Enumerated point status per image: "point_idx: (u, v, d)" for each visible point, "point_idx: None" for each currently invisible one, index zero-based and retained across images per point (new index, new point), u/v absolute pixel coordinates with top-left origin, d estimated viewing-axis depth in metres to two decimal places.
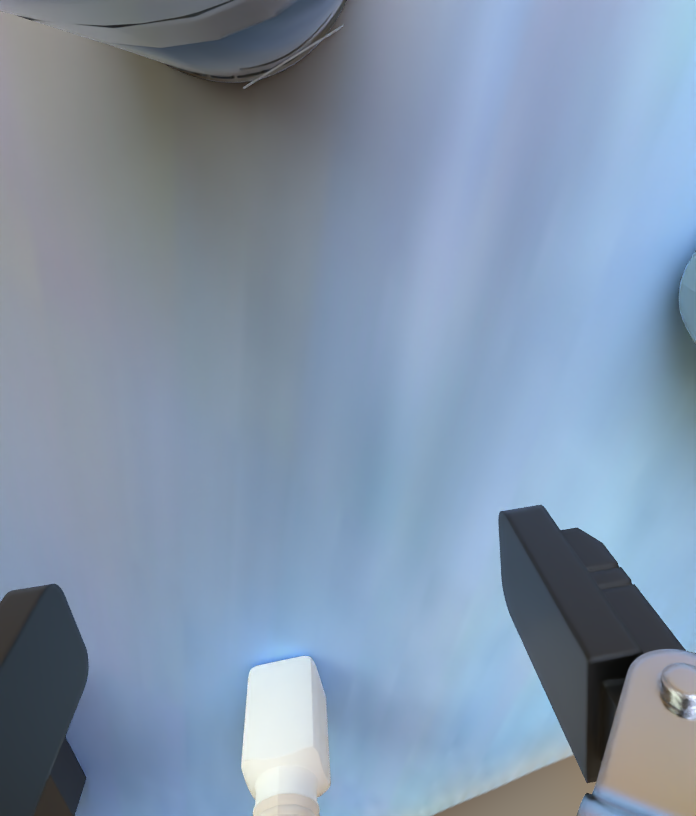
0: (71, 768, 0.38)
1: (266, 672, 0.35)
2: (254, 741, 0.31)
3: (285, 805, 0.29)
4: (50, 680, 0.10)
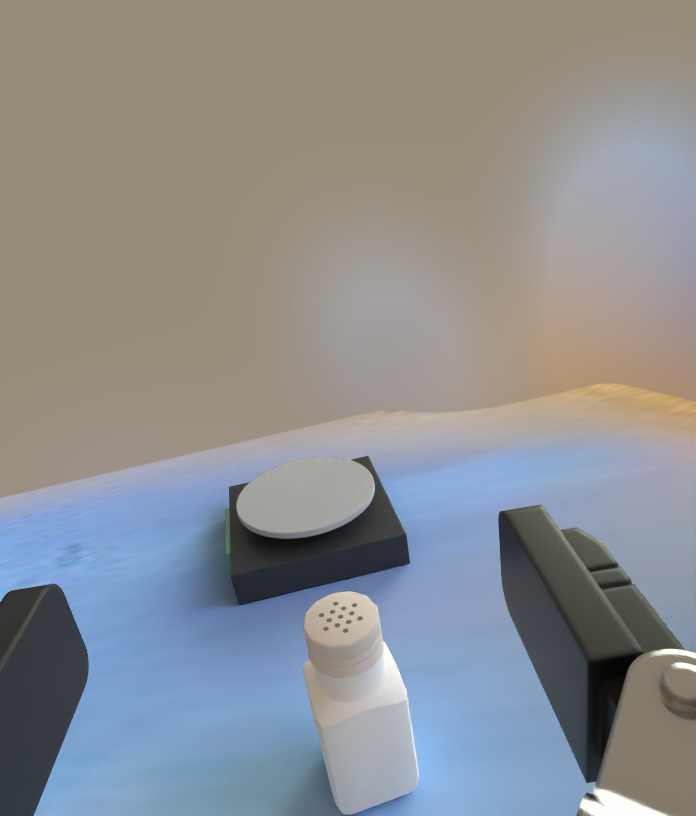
0: (268, 589, 0.41)
1: None
2: None
3: (380, 633, 0.26)
4: (50, 680, 0.10)
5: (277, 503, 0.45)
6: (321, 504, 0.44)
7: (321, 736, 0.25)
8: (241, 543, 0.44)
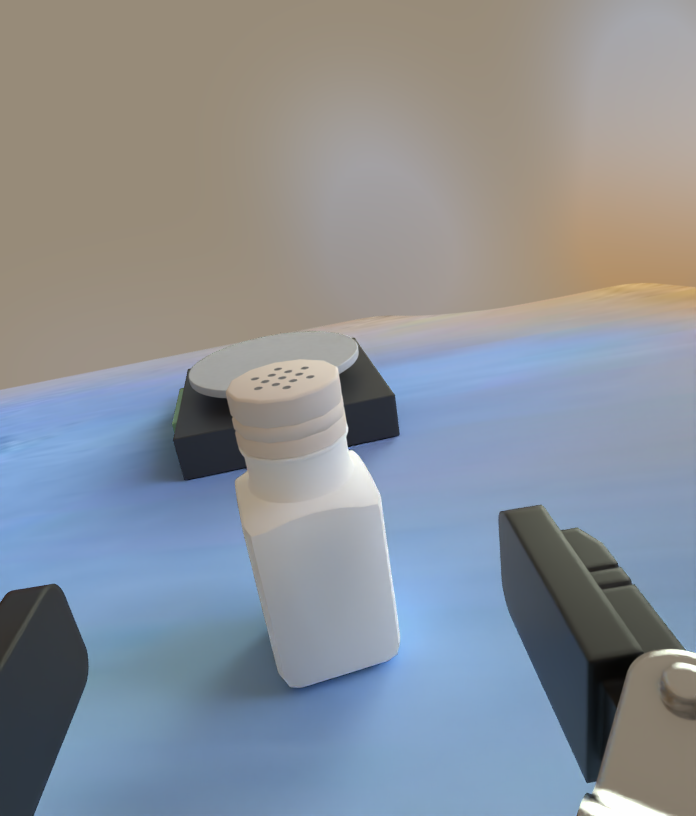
0: (221, 460, 0.33)
1: None
2: None
3: (342, 408, 0.18)
4: (50, 680, 0.10)
5: (238, 368, 0.37)
6: None
7: (251, 555, 0.17)
8: (192, 412, 0.35)
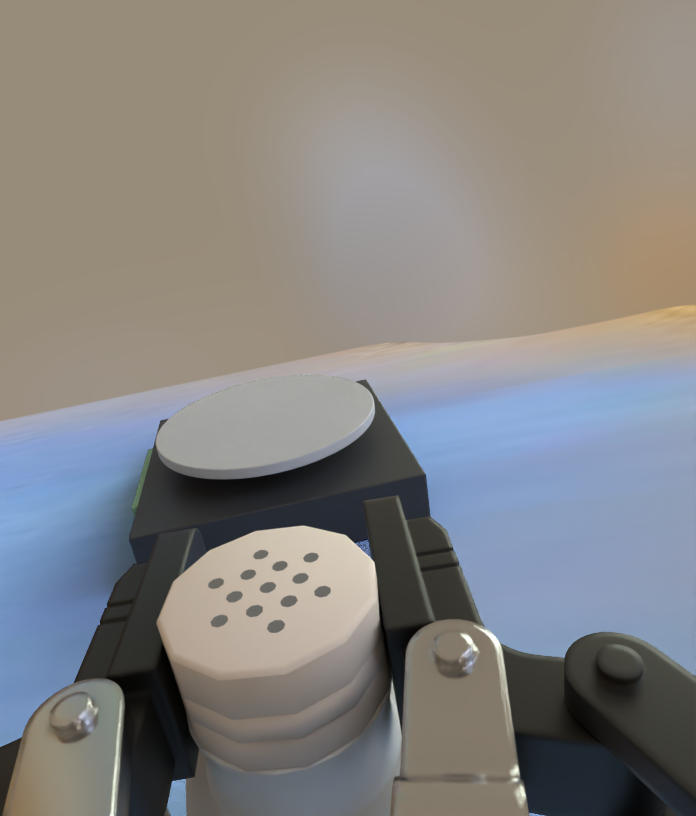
0: None
1: None
2: None
3: (383, 636, 0.09)
4: None
5: (220, 431, 0.28)
6: (288, 430, 0.27)
7: None
8: (158, 492, 0.27)
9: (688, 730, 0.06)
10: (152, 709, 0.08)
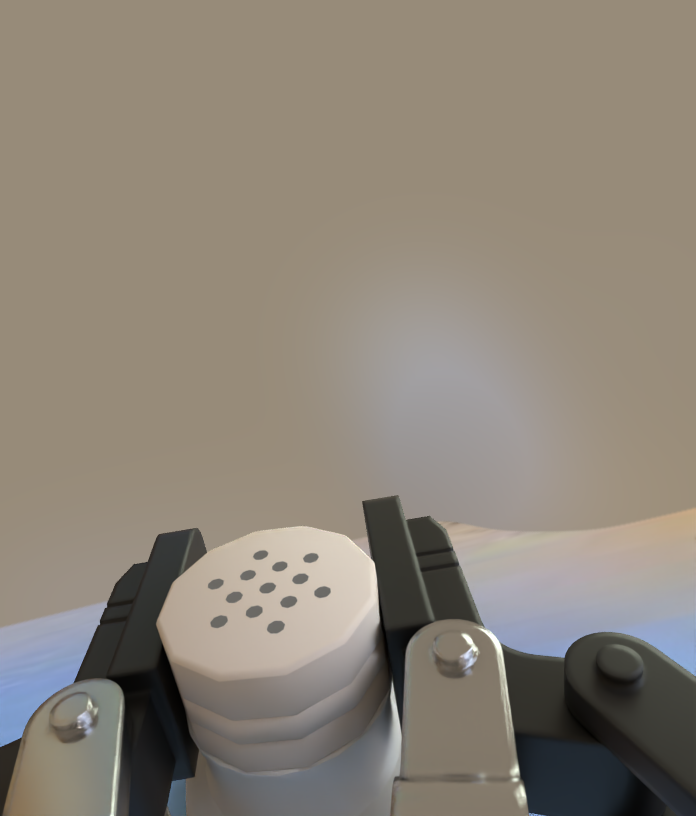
0: None
1: None
2: None
3: (383, 636, 0.09)
4: None
5: None
6: None
7: None
8: None
9: (688, 730, 0.06)
10: (152, 709, 0.08)
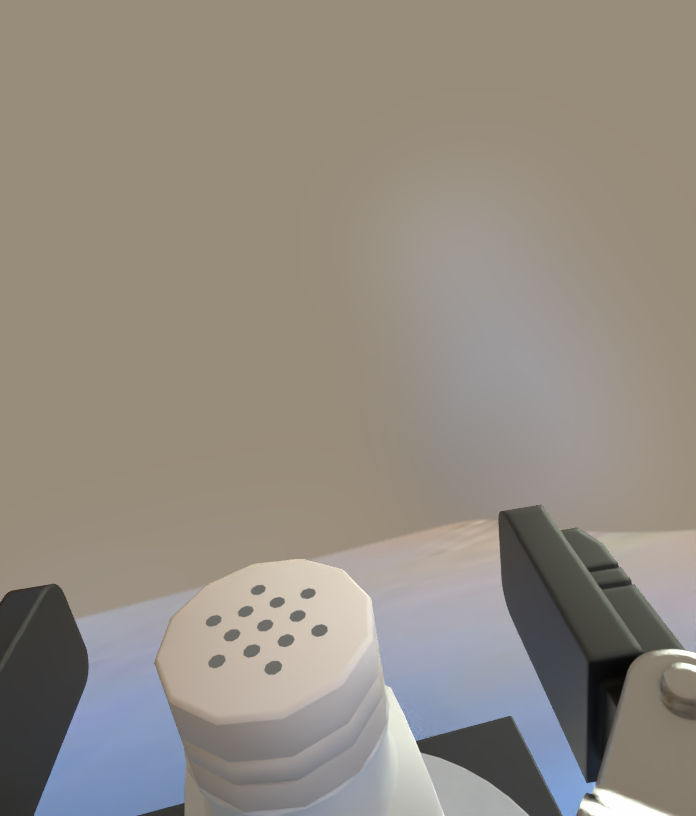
0: None
1: None
2: None
3: (380, 672, 0.09)
4: (50, 680, 0.10)
5: None
6: None
7: None
8: None
9: None
10: None
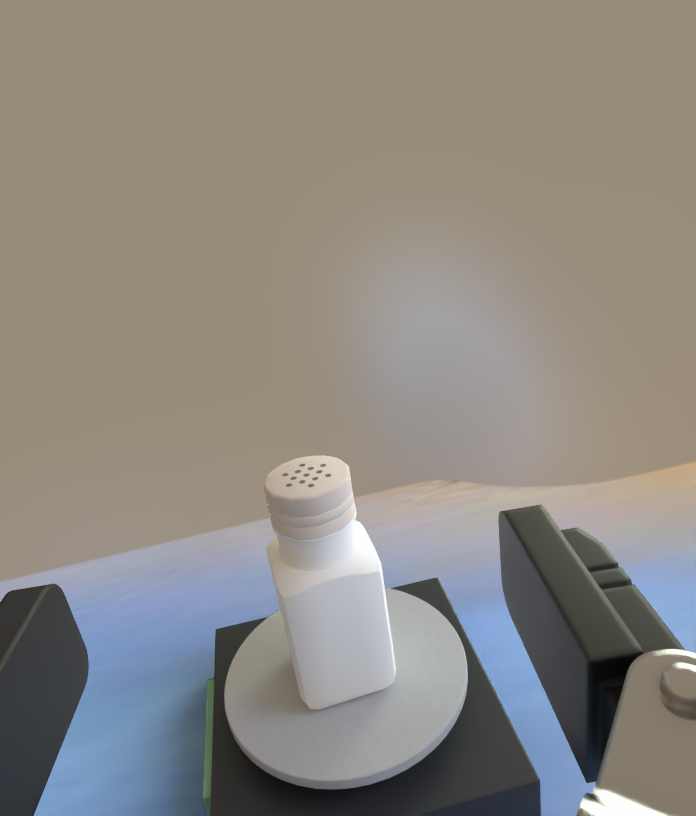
0: None
1: None
2: None
3: (352, 496, 0.23)
4: (50, 680, 0.10)
5: (296, 693, 0.25)
6: (375, 703, 0.24)
7: (283, 610, 0.22)
8: (231, 776, 0.24)
9: None
10: None
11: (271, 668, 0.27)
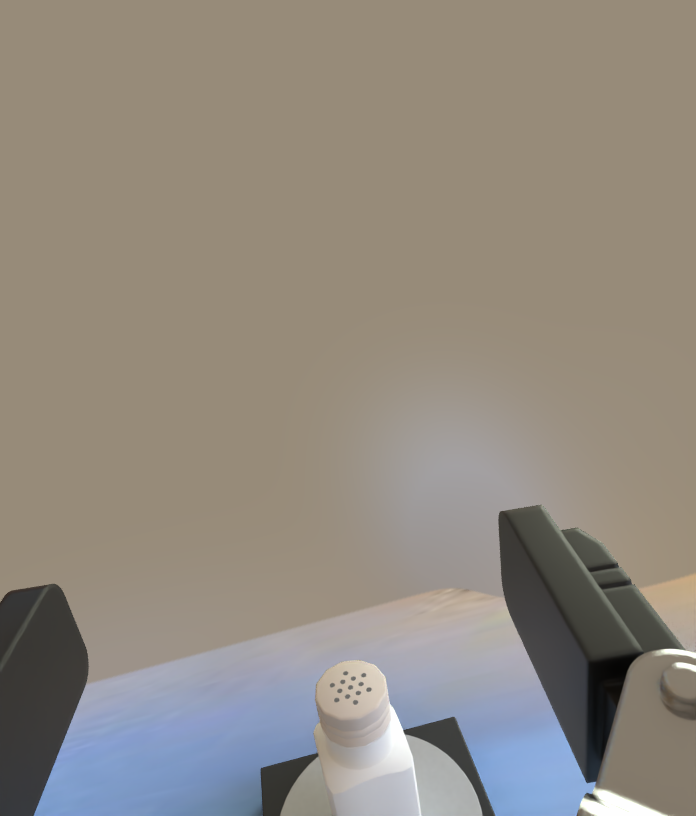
0: None
1: None
2: None
3: (388, 702, 0.27)
4: (50, 680, 0.10)
5: None
6: None
7: (331, 801, 0.27)
8: None
9: None
10: None
11: None
